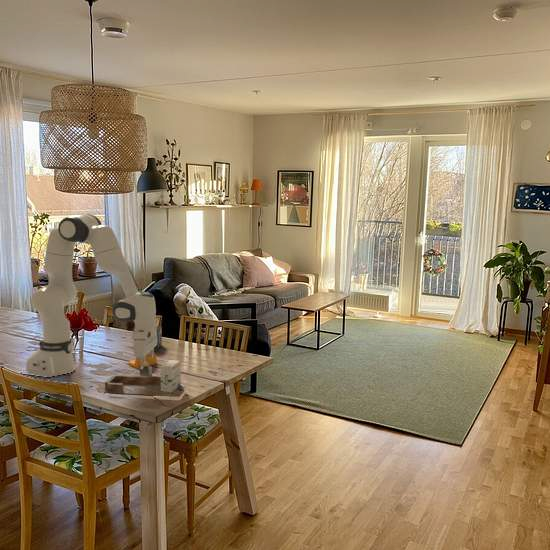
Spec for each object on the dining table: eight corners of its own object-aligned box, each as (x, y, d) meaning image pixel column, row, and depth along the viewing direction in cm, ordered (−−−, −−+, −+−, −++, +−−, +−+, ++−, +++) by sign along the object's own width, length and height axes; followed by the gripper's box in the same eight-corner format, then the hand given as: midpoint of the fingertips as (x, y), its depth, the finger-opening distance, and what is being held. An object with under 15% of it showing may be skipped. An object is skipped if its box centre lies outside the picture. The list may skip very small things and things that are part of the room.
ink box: (170, 386, 226) (169, 359, 224) (181, 388, 224) (181, 360, 222) (160, 393, 217) (159, 365, 216) (171, 395, 216) (171, 366, 214)
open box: (103, 393, 217) (103, 383, 216) (114, 383, 227) (114, 374, 227) (153, 396, 215) (152, 386, 214) (161, 386, 226) (161, 377, 225)
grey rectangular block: (139, 377, 232) (139, 364, 231) (142, 374, 236) (142, 361, 235) (149, 378, 231) (148, 364, 231) (152, 375, 235) (151, 361, 234)
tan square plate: (135, 381, 231) (135, 378, 230) (140, 375, 238) (140, 373, 237) (151, 382, 230) (151, 379, 230) (156, 376, 237) (156, 374, 237)
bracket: (147, 362, 257) (146, 337, 255) (156, 365, 252) (156, 340, 250) (127, 367, 248) (127, 341, 246) (137, 371, 244) (136, 345, 242)
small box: (157, 351, 274) (157, 330, 272) (144, 350, 274) (144, 330, 272) (162, 345, 284) (162, 325, 283) (150, 345, 284) (149, 325, 283)
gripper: (146, 324, 241) (147, 354, 243) (130, 336, 221) (131, 369, 223) (160, 324, 240) (161, 354, 242) (145, 336, 220) (146, 369, 222)
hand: (147, 361), depth 233 cm, fingers open, 8 cm apart
